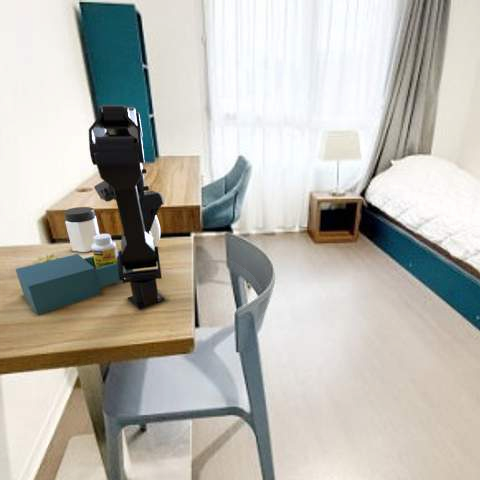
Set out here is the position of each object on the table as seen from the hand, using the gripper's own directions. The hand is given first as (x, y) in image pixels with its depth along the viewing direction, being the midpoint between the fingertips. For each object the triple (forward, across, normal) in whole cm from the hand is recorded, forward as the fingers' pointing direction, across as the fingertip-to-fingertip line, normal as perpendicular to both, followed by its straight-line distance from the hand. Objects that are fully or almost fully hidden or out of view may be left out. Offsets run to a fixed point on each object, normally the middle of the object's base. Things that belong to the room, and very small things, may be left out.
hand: (139, 227), depth 94 cm
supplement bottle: (+11, -2, -9) cm, 14 cm away
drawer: (+12, -2, -9) cm, 15 cm away
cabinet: (+13, -2, -20) cm, 24 cm away
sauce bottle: (+13, -16, +9) cm, 23 cm away
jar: (+13, -30, -5) cm, 33 cm away
